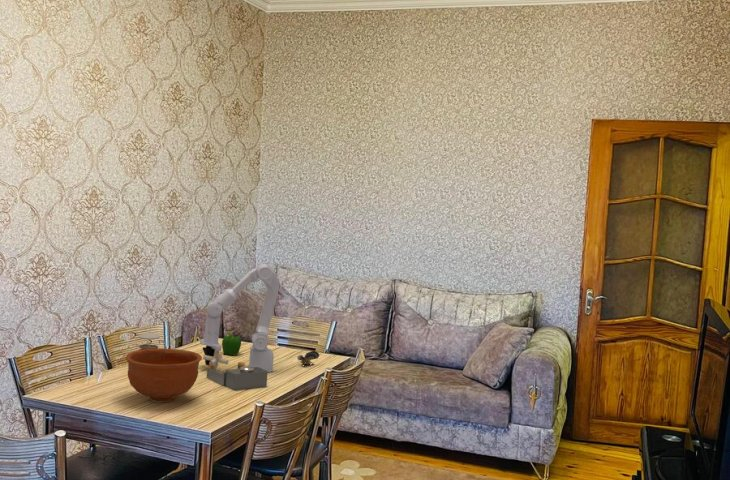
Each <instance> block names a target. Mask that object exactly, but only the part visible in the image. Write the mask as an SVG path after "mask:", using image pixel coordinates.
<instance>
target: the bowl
mask: <svg viewBox="0 0 730 480" xmlns="http://www.w3.org/2000/svg"><path fill="white" fill-rule="evenodd" d="M202 359H203V357H202V355H201V354H199V353H198V352H196V351H190V350H186V349H178V348H167V349H166V348H159V347H158V348H157V349H144V350H139V349H138V350H134V351H130V352H129V353H127V354H126V355H125V360H126V361H127V364H128V365H127V366H128V367H127V378H128V380H129V384H130V386H131V387H132V388H133V389H134V390H135V391H136V392H137V393H138V394H140V395H142V396H144V397H146V398H149V400H150V401H152V402H155V403H157V402H158V403H167V402H172V401H174V399H175V398H176V397H181V396H182V395H184V394H186V393H188V392H189V391H190V390H191V389H192V387H193V386H194V385H195V382H196V381H197V378H198V376H199V365H200V362H201V361H202Z"/></svg>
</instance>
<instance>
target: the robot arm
mask: <svg viewBox="0 0 730 480" xmlns="http://www.w3.org/2000/svg"><path fill="white" fill-rule="evenodd" d="M259 280H261V281H262V283H264V285H265V286H266V292H265V296H264V300H263V304H262V308H261V310H260V315H259V319H258V322H257V326H256V329H255V331H254V332H253V334H252V335H251V338H250V339H251V343H252V345H251V347H250V350H249V360H248V361H249V362H248V366H249V367H259V368H262V369H264V370H266V371H268V373H271V371H272V372H274V371H275V370H274V369H273V368H274V358H275V355H274V352H273V351H274V350H272V349H271V348H269V347H268V344H269V339H268V338H269V337H268V336H269V330H270V324H271V320H272V318H273V314H274V311H275V306H276V303H277V298H278V294H279V290H280V284H279V281H278V277H277V276H276V272H275V271H274V270H273V269H272V268H271V266H270V265H269V264H268V263H260V264H259V265H257V267H254V268H253V269H251V270H250V271H249V272H248V273H246V274H245V276H243V277H242V278H241V279H240V280H239V281H238V282H237V283H236V284H235V285H234V286H233V287H231V288H226V289H223V290H221V294H219V295H218V296H217V297H216V298H213V299H212V301H211V302H210V303H208V304H207V307H206V317H205V318H206V319H205V325H204V335H203V338H200V341H199V344H201V345H202V346H204V347H202V352H203V355H207V356H212V357H214V352H215V348H216V351H219V352H221V351H222V345H221V344H220V343H219V339H220V338H219V335H220V327H221V326H220V325H221V320H220V319H221V315H222V313H223V311H225V310H226V309H228V307H230V305H232V304H233V302H235V301H236V300H237V295H238V294H239V293H241V292H242V291H243V290H244V289H246V288H247V287H248V286H249V285H250V284H251V283H255V282H259ZM209 362H210V361H209V360H204V365H206V366H208V365H210V364H209Z"/></svg>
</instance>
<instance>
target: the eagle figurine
mask: <svg viewBox="0 0 730 480" xmlns="http://www.w3.org/2000/svg"><path fill="white" fill-rule="evenodd" d="M296 358H297V360H298V361H300V363H301V366H302V365H304V366H305V365H306V364H307V365H309V364H310V365H311V363H313V362H312V360H317V359H319V358H320V353H319V352H318V351H315V350H312V351H308V352H306V353H305V355H304V356H303V354H298V355H297V357H296ZM310 365H309V366H310Z"/></svg>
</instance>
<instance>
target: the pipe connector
mask: <svg viewBox="0 0 730 480" xmlns="http://www.w3.org/2000/svg"><path fill="white" fill-rule="evenodd" d="M202 359H203V360H204V361H205V360H209V361H210V362H209V364H210V365H213V366H214V369H216V370H218V364H219V363H220V364H225V365H228V364H229V359H225V358H223V355H222V354H221V353H220V351H216V348H215V352H214V357H212V356H207V355H205V354H203V357H202Z"/></svg>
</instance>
